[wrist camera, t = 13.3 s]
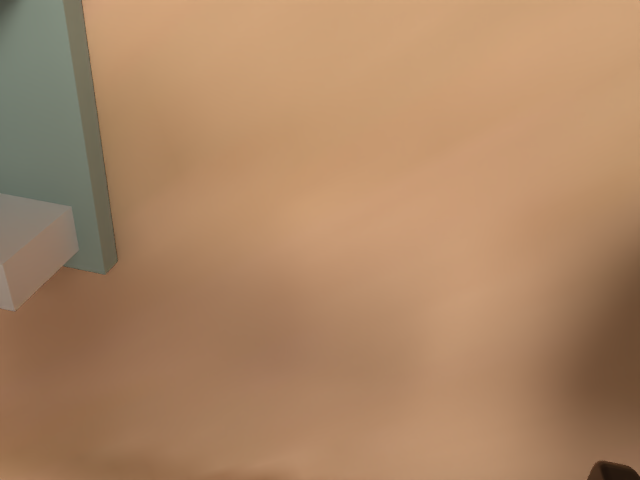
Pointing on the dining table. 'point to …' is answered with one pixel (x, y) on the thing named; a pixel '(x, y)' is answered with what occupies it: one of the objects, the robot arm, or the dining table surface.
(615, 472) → the robot arm
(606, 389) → the dining table surface
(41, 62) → the vise
